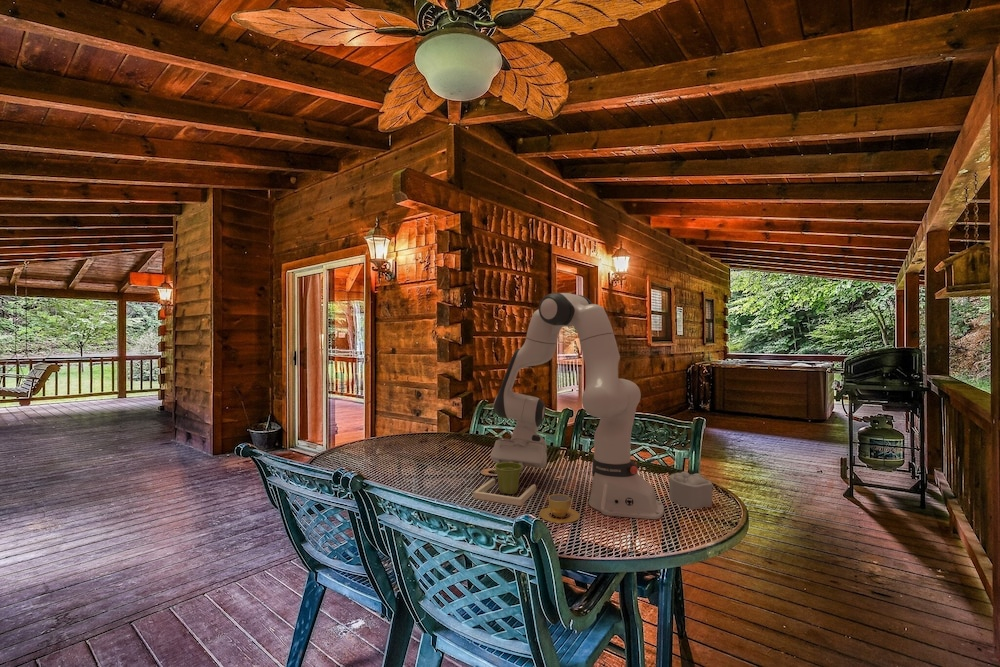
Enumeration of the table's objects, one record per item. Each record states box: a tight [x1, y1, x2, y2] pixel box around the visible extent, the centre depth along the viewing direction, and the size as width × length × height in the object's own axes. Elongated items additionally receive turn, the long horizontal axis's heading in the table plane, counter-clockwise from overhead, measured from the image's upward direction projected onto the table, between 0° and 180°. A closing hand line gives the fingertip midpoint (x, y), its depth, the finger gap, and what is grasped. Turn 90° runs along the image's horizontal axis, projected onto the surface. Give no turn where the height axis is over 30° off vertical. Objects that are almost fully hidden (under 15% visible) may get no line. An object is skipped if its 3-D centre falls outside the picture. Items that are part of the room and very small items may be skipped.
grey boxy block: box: [668, 471, 713, 510], centre depth 148 cm, size 10×13×9 cm
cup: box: [538, 493, 581, 524], centre depth 136 cm, size 12×12×5 cm
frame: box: [472, 478, 537, 507], centre depth 153 cm, size 16×15×2 cm
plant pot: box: [494, 462, 523, 495], centre depth 156 cm, size 9×9×9 cm
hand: (513, 475), depth 160 cm, fingers closed, pressing on plant pot
